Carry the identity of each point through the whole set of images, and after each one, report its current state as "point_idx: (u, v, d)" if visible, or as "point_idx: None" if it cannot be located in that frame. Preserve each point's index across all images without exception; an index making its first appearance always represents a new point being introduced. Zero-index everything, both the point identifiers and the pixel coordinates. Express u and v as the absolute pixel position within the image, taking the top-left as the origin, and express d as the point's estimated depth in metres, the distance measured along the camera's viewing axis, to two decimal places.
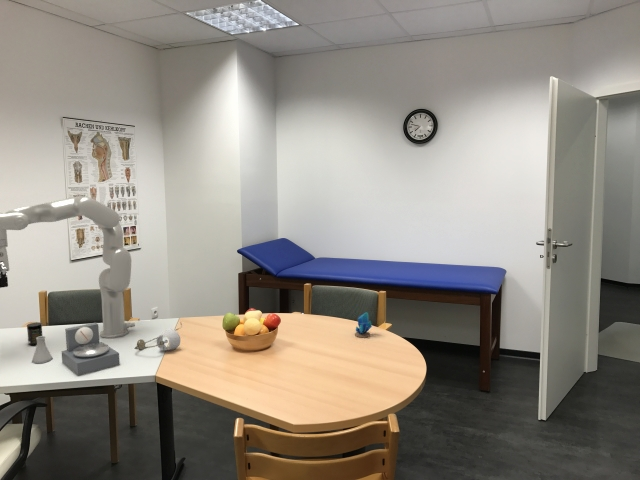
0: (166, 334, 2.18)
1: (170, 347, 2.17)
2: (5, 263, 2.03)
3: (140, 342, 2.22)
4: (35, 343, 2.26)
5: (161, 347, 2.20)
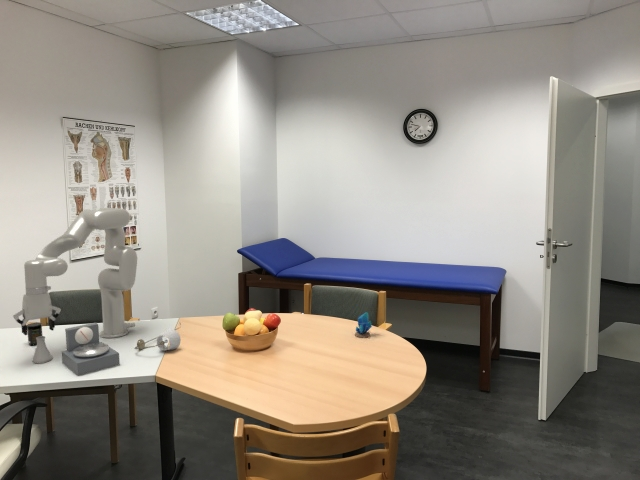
0: (166, 334, 2.18)
1: (170, 347, 2.18)
2: None
3: (140, 342, 2.22)
4: (35, 343, 2.26)
5: (161, 347, 2.20)
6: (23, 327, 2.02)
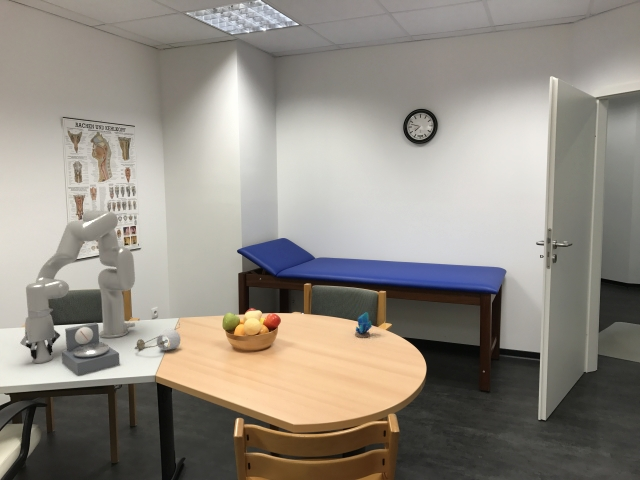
0: (166, 334, 2.18)
1: (170, 347, 2.18)
2: None
3: (140, 342, 2.22)
4: (35, 343, 2.26)
5: (161, 347, 2.20)
6: (32, 351, 2.05)
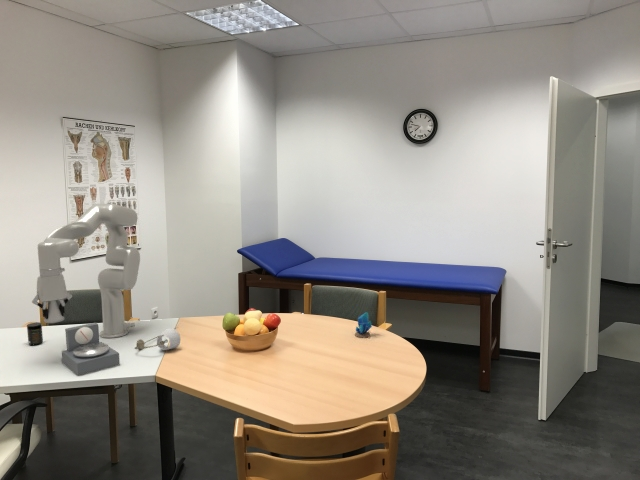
0: (166, 334, 2.18)
1: (170, 346, 2.18)
2: None
3: (139, 342, 2.22)
4: (35, 343, 2.26)
5: (161, 347, 2.20)
6: (44, 311, 2.02)
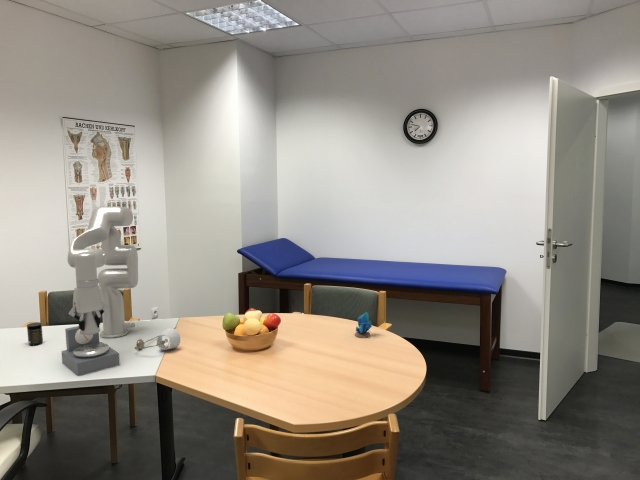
0: (166, 333, 2.18)
1: (171, 346, 2.18)
2: None
3: (139, 342, 2.22)
4: (35, 343, 2.26)
5: (161, 346, 2.20)
6: (80, 322, 1.99)
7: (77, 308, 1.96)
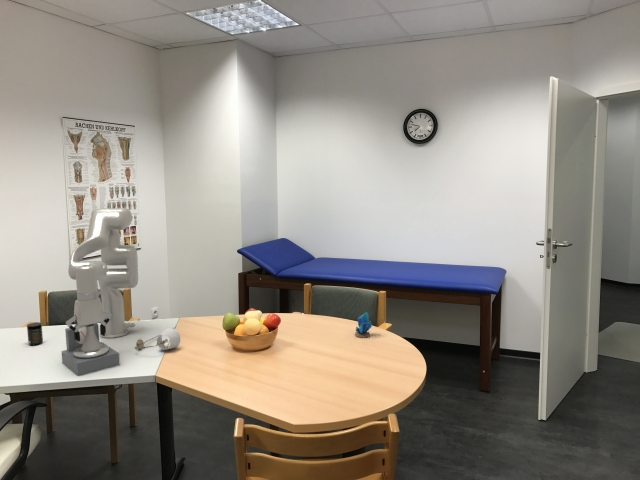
0: (166, 333, 2.19)
1: (171, 346, 2.19)
2: None
3: (139, 342, 2.22)
4: (35, 343, 2.26)
5: (161, 346, 2.21)
6: (76, 333, 1.98)
7: (78, 321, 1.97)
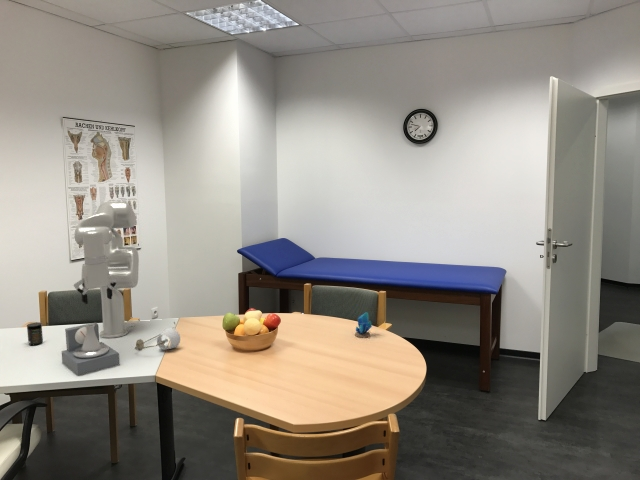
0: (166, 333, 2.19)
1: (171, 346, 2.19)
2: None
3: (139, 342, 2.22)
4: (35, 343, 2.26)
5: (161, 346, 2.21)
6: (83, 296, 2.05)
7: (85, 284, 2.03)
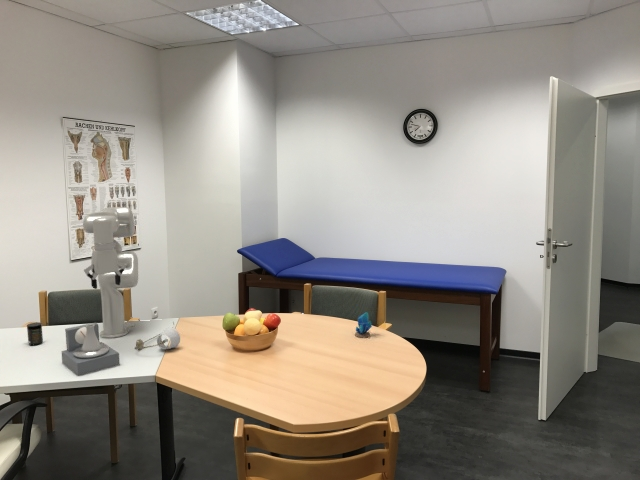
0: (166, 333, 2.19)
1: (171, 346, 2.19)
2: None
3: (139, 342, 2.22)
4: (35, 343, 2.26)
5: (161, 346, 2.21)
6: (93, 281, 2.12)
7: (95, 269, 2.12)
